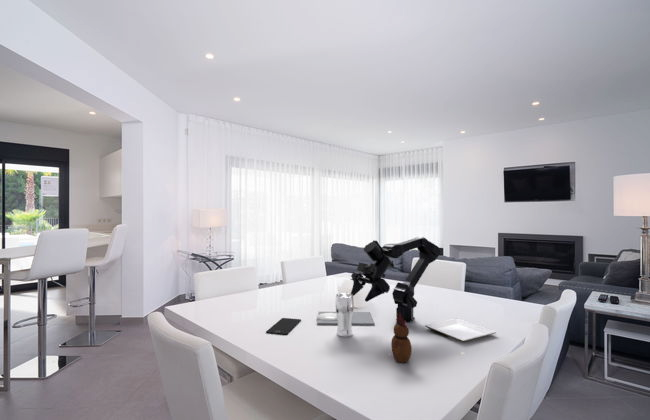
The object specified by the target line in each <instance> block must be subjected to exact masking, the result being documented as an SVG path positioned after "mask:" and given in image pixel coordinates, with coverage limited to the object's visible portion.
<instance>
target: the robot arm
mask: <svg viewBox="0 0 650 420" xmlns="http://www.w3.org/2000/svg"><path fill="white" fill-rule="evenodd" d="M415 249H417V250H418V252H419V253H418V256H419V258H418V260H417V261H416V263H415V264H414V266H413V267H412V269H411V271H410V272H409V274H408V275H407V276H406V279H405V280H404V281H403V282H398V281H397V283H396V285H395V287H394V288H392V293H391V294H392V299H393V301H394V302H393V303H394V304H395V305H397V306H396V308H395V309H396V310H395V311H396V316H395V317H396V319H397V311H398V314H399V317H400V314H401V318H403V321H405V323H407V322H408V323H411V322H412V321H414V320H415V319H416V318H415V317H414V308H417V305H418V301H417V300H416V299H415V297H414V296H415V287H416V286H417V284H418V282H419V281H420V279H421V278H422V276H423V274H424V273H425V271H426V270H427V268H428V266H429V264H432V263H434V261H436V260H437V259H438V257H440V254H441V249H440V247H439V246H438V245H436V244H435V243H433V242H432V241H430V240H428V239H427V238H425V237H424V236H416V237H414V238H411V239H408V240H405V241H402V242H398V243H385V244H384V245H382V246H381V245H380V244H379V242H378V240H375V239H374V240H373V239H372V241H371V242H369V243H367V244H366V245H365V246H364V248H363V251H364V253H365V254H366V255H367V257H368V258H369V259H370V260H371V261H373V262H374V263H373V262H372V263H368V264H367V263H364V262H358V265H357V266H356V267H357V268H356V271H359V272H356V271H354V272H352V274H351V275H350V277H351V279H352V281H353V284H352V287H351V291H350V294H352V295H353V297H354V296H355V295H357V294H358V292H360V291H362V289H364V287H365V286H366V284H368V285H371V288H370V290H369V291H368V293H367V295H366V297H364V298H365V299H364V301H365V302H369V301H371V300H373V299H374V298H377V297H379V296H380V295H384V294H388V293H389V291H390V290H391V289H390V286H391V285H389V283H388V282H387V280H386V279H385V277H386V274H385V273H386V272H387V270H388V269H389V268H394V267H395V264H394V260H391V259H398V258H400V257H402V256H403V254H404V253H406V252H408V251H411V250H415ZM390 258H391V259H390ZM360 272H361V273H360ZM396 319H395V320H396Z"/></svg>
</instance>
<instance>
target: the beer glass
mask: <svg viewBox="0 0 650 420" xmlns="http://www.w3.org/2000/svg"><path fill="white" fill-rule="evenodd" d="M354 304H355V303H354V296H353V295H352V294H351V293H350V292H349V293H348V292H339V293H336V295H335V312H336V315H337V321H338V325H337V330H336V335H337V336H339V337H341V338H348V337H352V335H353V328H352V326H353V325H351V324H352V317H353V312H354V310H355V308H354V306H355V305H354Z"/></svg>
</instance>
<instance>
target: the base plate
mask: <svg viewBox="0 0 650 420" xmlns="http://www.w3.org/2000/svg"><path fill="white" fill-rule="evenodd" d="M316 317H317V321H316V322H317V323H316V326H338V321H337V315H336V311H318V314H317V316H316ZM351 326H376V325H375V321H374V318H373V316H372V314H371V312H370V311H353V317H352V324H351Z"/></svg>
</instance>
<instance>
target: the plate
mask: <svg viewBox="0 0 650 420" xmlns="http://www.w3.org/2000/svg"><path fill="white" fill-rule="evenodd" d="M424 326H425V327H426V328H428V329H430V330H432V331H435V332H438V333H439V334H442V335H445V336H447V337H449V338H450V337H451V338H452V339H455V340H456V341H457V340H458V341H460V342H468V341H471V340H475V339H480V338H482V337H486V336H490V335H491V336H492V335H494V334H495V335H496V333H497V331H495V330H492V329H489V328H487V327H483V326H480V325H478V324H475V323H471V322H469V321H466V320H462V319H459V318H452V319H451V318H450V319H446V320H441V321H436V322H432V323H426V324H424Z"/></svg>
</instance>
